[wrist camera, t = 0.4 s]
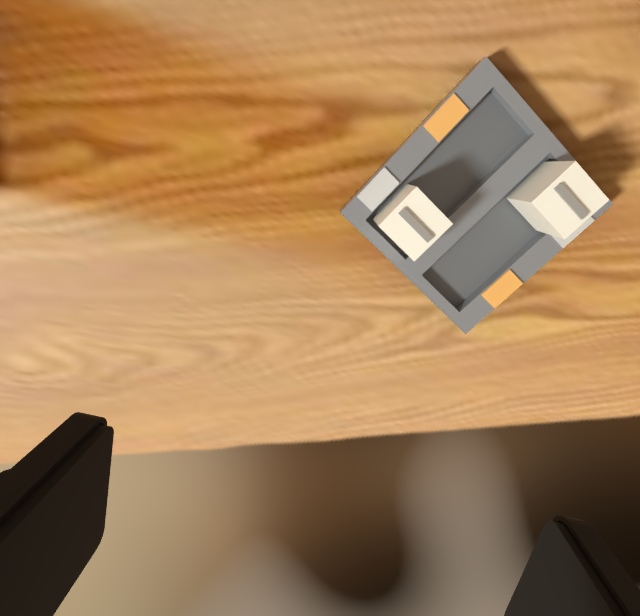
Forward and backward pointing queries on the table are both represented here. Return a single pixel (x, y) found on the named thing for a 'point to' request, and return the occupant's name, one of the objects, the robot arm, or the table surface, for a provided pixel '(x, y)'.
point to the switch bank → (469, 196)
